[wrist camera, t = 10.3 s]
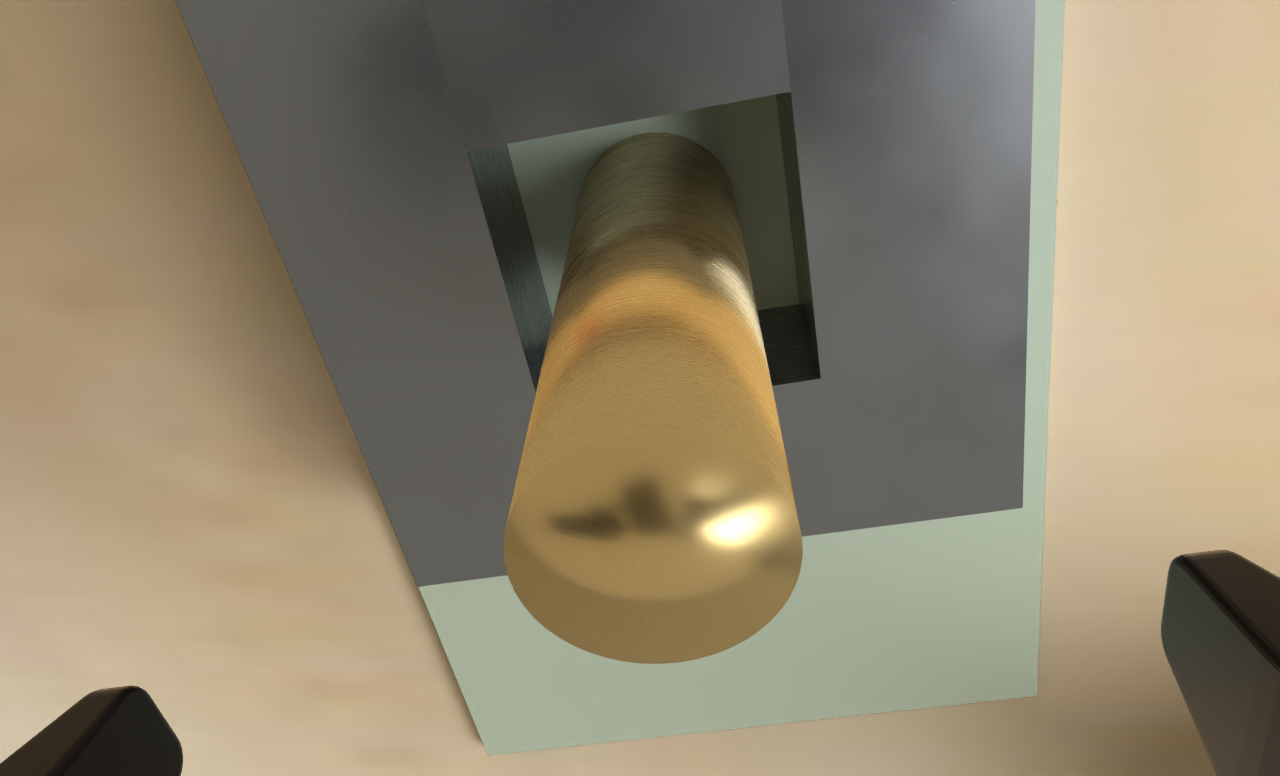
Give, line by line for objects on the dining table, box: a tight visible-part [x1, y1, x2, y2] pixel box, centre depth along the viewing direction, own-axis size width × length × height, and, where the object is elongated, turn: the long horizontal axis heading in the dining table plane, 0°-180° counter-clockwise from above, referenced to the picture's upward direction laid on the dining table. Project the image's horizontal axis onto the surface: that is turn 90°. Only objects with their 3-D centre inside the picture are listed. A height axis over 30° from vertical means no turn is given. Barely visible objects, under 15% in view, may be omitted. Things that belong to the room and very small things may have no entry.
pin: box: [503, 132, 803, 664], centre depth 14 cm, size 3×3×10 cm
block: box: [176, 0, 1036, 587], centre depth 17 cm, size 12×12×3 cm
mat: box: [419, 0, 1065, 756], centre depth 20 cm, size 21×15×1 cm
